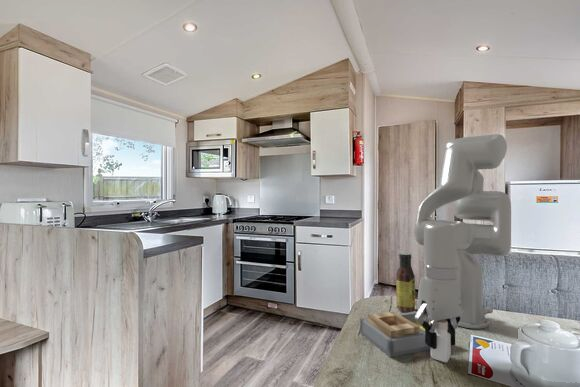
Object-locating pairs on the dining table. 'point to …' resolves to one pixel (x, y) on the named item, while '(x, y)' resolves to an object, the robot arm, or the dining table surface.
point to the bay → (395, 344)
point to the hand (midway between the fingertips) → (440, 343)
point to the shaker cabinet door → (393, 324)
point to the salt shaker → (442, 342)
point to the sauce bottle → (405, 284)
